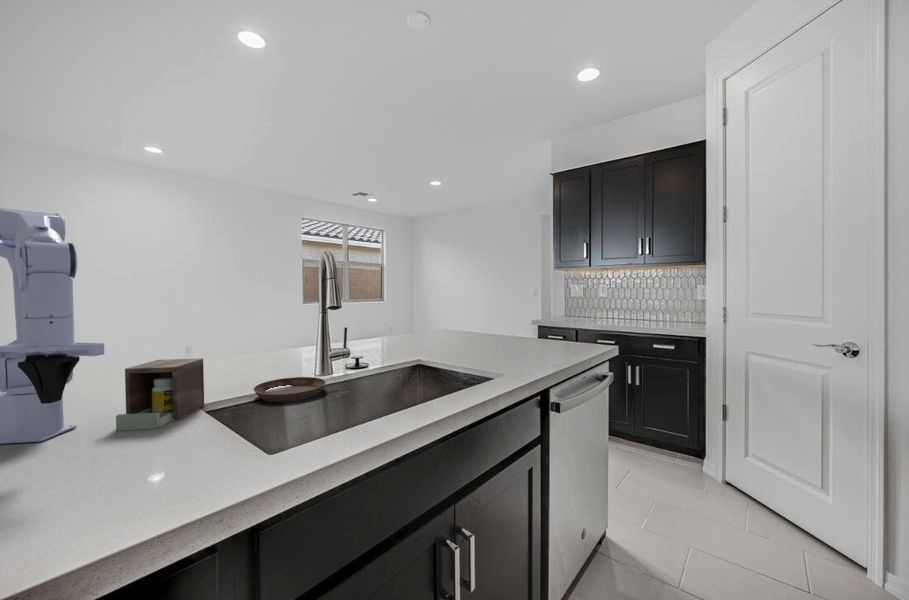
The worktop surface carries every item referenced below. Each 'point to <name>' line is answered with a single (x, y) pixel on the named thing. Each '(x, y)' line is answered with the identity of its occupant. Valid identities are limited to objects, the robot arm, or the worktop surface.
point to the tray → (142, 420)
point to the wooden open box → (184, 385)
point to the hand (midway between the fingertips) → (51, 401)
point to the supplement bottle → (162, 395)
